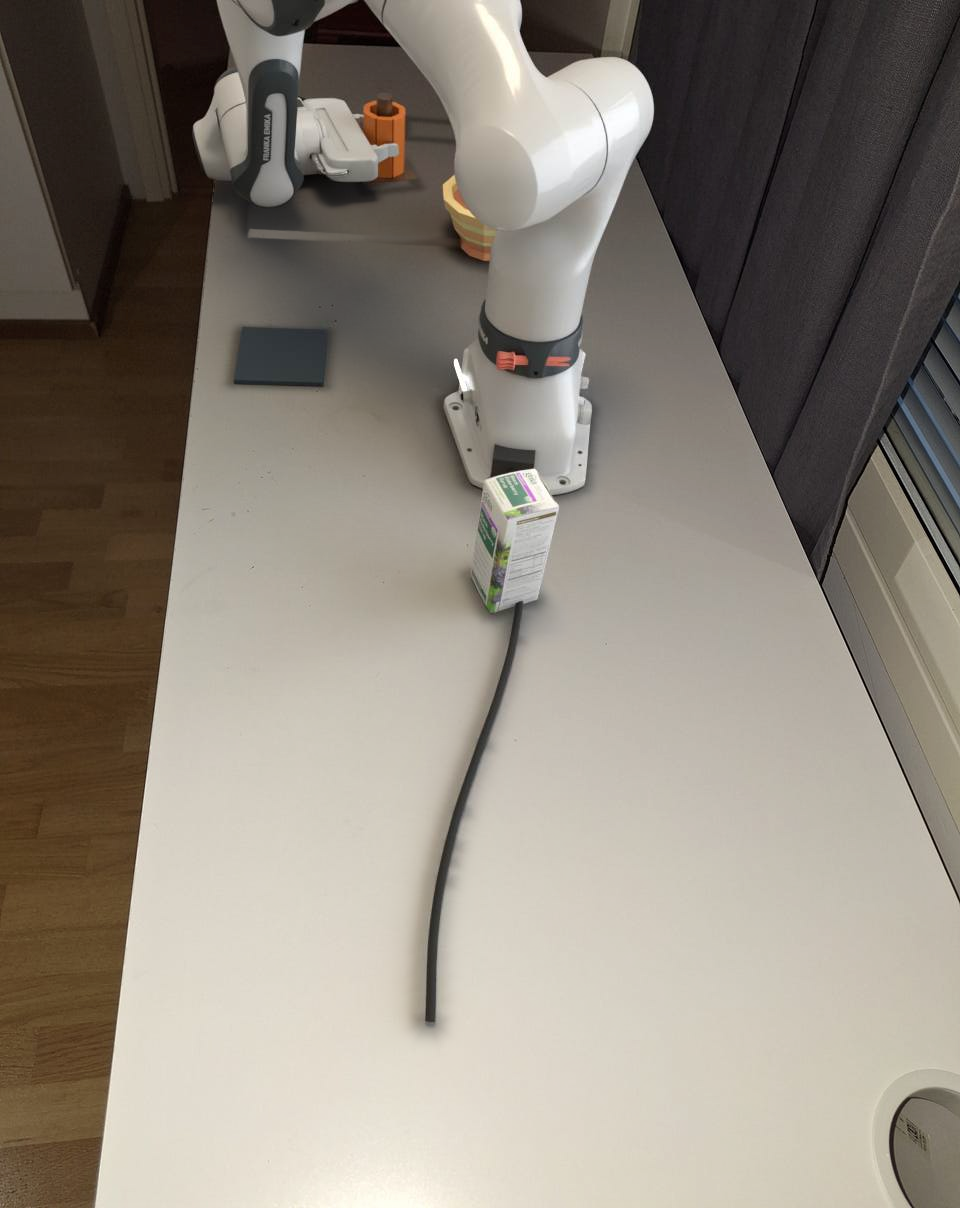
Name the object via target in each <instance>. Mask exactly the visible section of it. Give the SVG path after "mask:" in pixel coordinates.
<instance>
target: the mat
mask: <svg viewBox="0 0 960 1208" xmlns="http://www.w3.org/2000/svg"><path fill="white" fill-rule="evenodd" d="M327 336H328V330H327V329H318V328H317V329H316V328H293V327H292V328H291V327H290V328H289V327H288V328H287V327H285V328H284V327H263V326H262V327H259V326H242V327H241V333H240V338H239V344H238V350H237V351H238V352H237V357H236V358H237V359H236V363H235V368H234V369H235V371H234V376H233V383H234V384H235V385H236V384H238V385H274V386H278V385H279V386H308V387H324V381H325V366H326V354H327V353H326V351H327Z"/></svg>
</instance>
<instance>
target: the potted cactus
mask: <svg viewBox="0 0 960 1208" xmlns="http://www.w3.org/2000/svg"><path fill="white" fill-rule="evenodd" d="M442 196H443V204H444V209H445V210H446V211H447V212H448V213H449V214H450V218H451V222H452V225H453V228H454V231H456V233H457V235H458V236H459V237H460V239H459V240H460V248H461V250H463V251H464V252H465V254H467V255H468V256H469V257H471V258H474V259H478V260H481V261H482V262H484V261H485V262H490V252H491V246H492V243H493V240H494V237H495V235H496V233H497V230H494V229H491V228H489V227H487V226H485V225H484V224H482V223H481V222H480V221H478V220H477V219H476V218H475V217H474V216H473V215H472V214H471V212H470V211H469V210H468V208H467V207H466V205H465V204H464V202H463V200H462V198H461V196H460V193H459V191H458V188H457V184H456V180H455V174H453V175H452V176H451V177H450V178H448V180H446V181H445V182H444V183H443V184H442Z"/></svg>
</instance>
